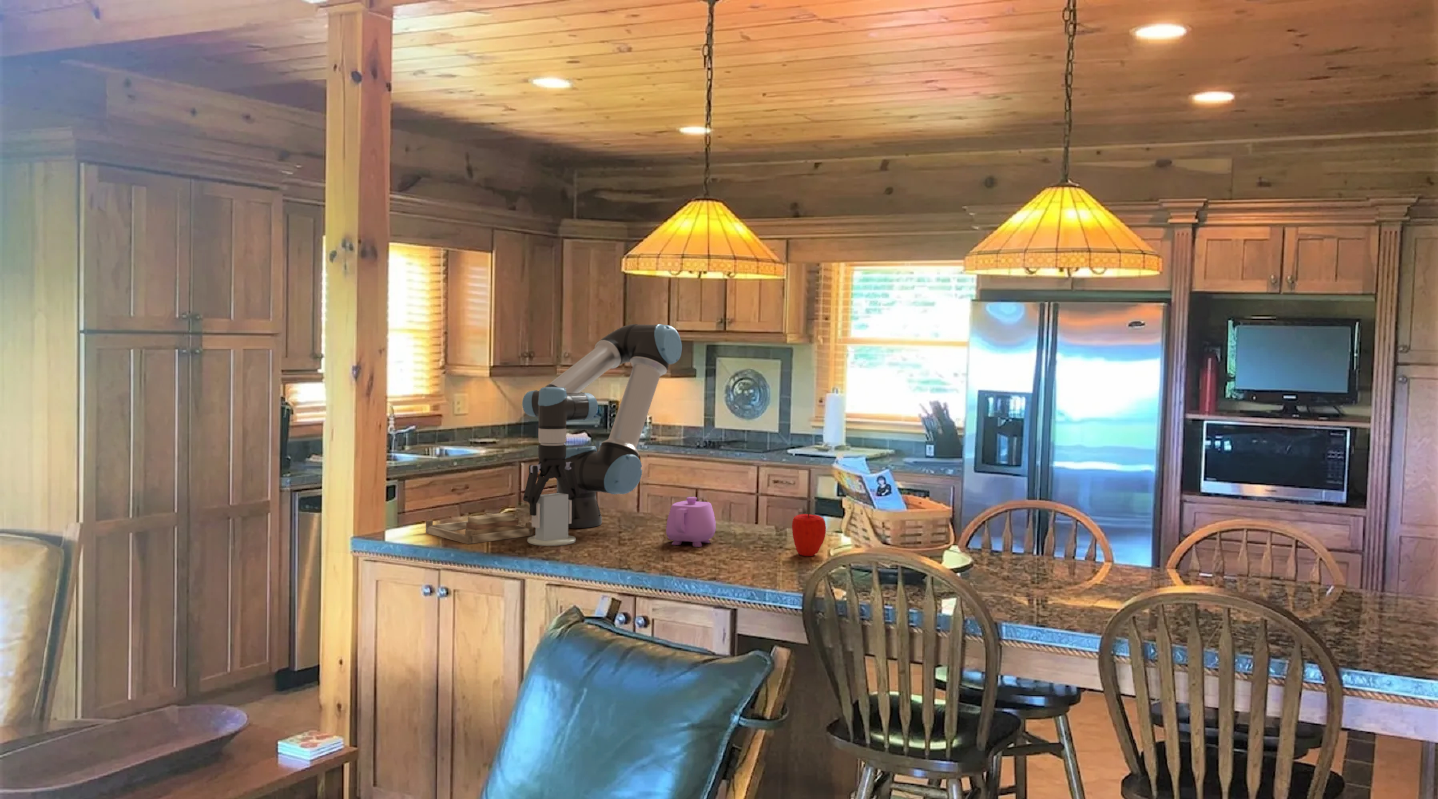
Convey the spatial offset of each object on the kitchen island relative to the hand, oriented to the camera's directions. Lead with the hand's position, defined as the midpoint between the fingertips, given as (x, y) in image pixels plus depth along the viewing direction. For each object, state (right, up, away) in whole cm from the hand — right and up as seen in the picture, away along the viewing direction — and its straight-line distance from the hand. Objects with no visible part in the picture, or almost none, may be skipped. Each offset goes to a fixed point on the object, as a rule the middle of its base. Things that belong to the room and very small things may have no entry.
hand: (551, 525), depth 314 cm
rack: (-22, -4, +10) cm, 24 cm away
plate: (0, -4, 0) cm, 4 cm away
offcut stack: (-17, -4, +5) cm, 18 cm away
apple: (+69, -6, -13) cm, 71 cm away
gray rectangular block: (0, -4, 0) cm, 4 cm away
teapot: (+38, -5, +1) cm, 39 cm away
